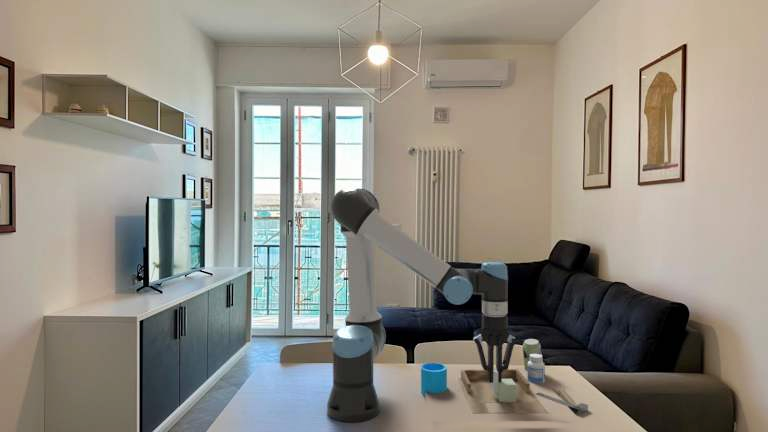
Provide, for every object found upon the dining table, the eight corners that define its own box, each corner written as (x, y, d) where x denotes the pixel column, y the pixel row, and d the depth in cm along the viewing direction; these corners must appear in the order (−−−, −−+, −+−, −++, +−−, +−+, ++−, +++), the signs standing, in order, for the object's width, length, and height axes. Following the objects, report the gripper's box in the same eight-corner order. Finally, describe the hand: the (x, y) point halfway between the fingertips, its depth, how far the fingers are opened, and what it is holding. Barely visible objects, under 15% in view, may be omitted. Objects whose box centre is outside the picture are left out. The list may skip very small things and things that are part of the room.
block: (499, 401, 138) (499, 385, 138) (495, 395, 143) (495, 378, 143) (516, 401, 138) (516, 384, 138) (511, 395, 143) (511, 378, 143)
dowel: (572, 411, 136) (572, 405, 136) (558, 394, 148) (558, 389, 148) (578, 411, 136) (578, 405, 136) (564, 394, 148) (564, 389, 148)
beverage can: (544, 372, 167) (544, 338, 166) (538, 378, 160) (539, 343, 160) (526, 369, 170) (526, 336, 170) (520, 375, 164) (520, 341, 164)
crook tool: (578, 415, 132) (578, 409, 132) (535, 399, 144) (535, 393, 144) (587, 411, 135) (587, 404, 135) (545, 395, 147) (545, 389, 147)
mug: (446, 398, 145) (446, 372, 144) (419, 396, 146) (419, 370, 146) (447, 384, 156) (447, 359, 156) (423, 382, 158) (423, 358, 158)
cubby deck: (472, 418, 131) (472, 402, 131) (457, 382, 157) (457, 369, 157) (548, 418, 131) (548, 402, 131) (520, 382, 157) (520, 369, 157)
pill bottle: (532, 380, 159) (532, 351, 159) (547, 384, 155) (547, 355, 155) (524, 384, 155) (524, 355, 155) (539, 389, 151) (539, 359, 151)
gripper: (475, 317, 137) (475, 398, 137) (520, 317, 137) (520, 397, 137) (470, 311, 144) (470, 388, 145) (512, 311, 144) (513, 387, 145)
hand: (494, 392), depth 141 cm, fingers closed
